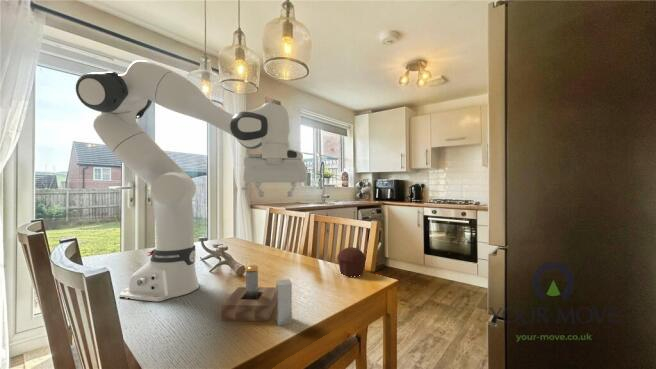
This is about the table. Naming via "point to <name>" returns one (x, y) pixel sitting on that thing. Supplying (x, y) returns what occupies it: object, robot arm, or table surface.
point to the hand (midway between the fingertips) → (275, 196)
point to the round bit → (252, 282)
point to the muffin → (351, 261)
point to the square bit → (283, 302)
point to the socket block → (249, 305)
